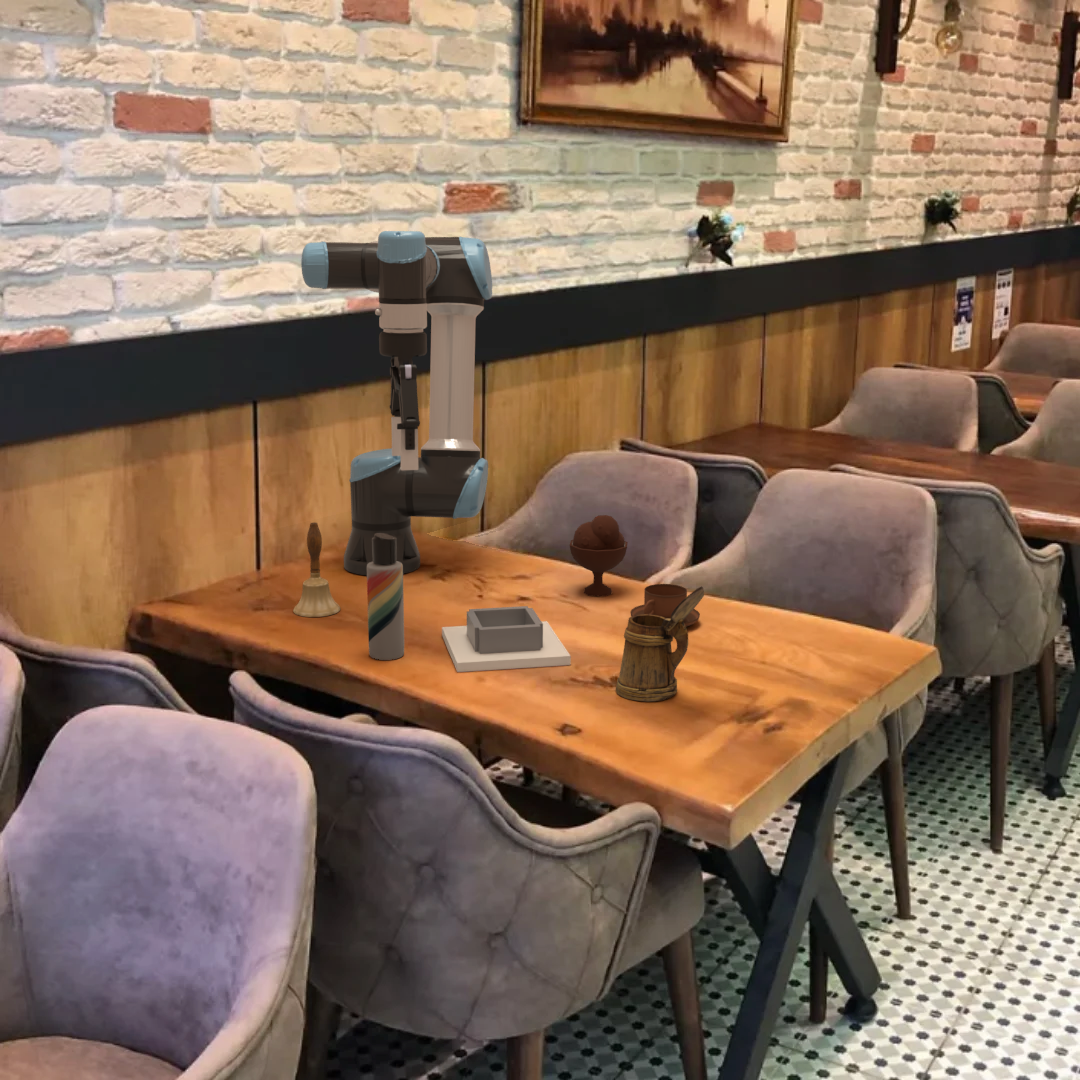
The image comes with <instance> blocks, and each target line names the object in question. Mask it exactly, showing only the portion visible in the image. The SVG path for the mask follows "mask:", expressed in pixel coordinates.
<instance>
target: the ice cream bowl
mask: <svg viewBox="0 0 1080 1080" xmlns="http://www.w3.org/2000/svg"><path fill="white" fill-rule="evenodd" d="M628 542H629V541H626V540H625V538H624V535H623V533H622V532H620V526H619V524H618V521H617V520H616V519H615V518H614V517H613V516H611V515H607V514H603V515H597V516H595V517H594V518H593V519H592V520H591V521H587V522H584V523H582V524H580V525H579V526H578V527H577V529H576V530H575V531H574V535H573V539H572V540H570V542H569V549H570V550H569V551H570V554H571V556H572V558H573V560H574V561H575V562H576V563H577V564H578V565H579V566H581V567H582V568H584V569H586V570H588V571H590V572H592V576H593V579H592V580H593V581H592V582H593V583H591V584H589V585H587V586H585V587H584V589H583V592H582V593H583V594H584V595H587V596H591V597H607V596H610V595H612V594H613V590H612V588H611V587H609V586H607V585H606V584H604V583H603V582H604V581H603V579H604V578H603V576H604V574H605V572H608V571H610V570H613V569H614V568H616V567H617V566H618V565H619V564H620V563H622V561H623V560H624V559H625V558H624V557H625V556H626V553H627V549H628Z"/></svg>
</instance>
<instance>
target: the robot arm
mask: <svg viewBox="0 0 1080 1080" xmlns="http://www.w3.org/2000/svg"><path fill="white" fill-rule="evenodd" d="M300 261H301V263H300V265H301V275H302V276H301V277H302V279H303V281H304V283H305V285H306V286H307V287H309V288H311V289H322V290H332V289H333V290H335V289H336V290H339V289H340V290H341V289H343V290H351V289H354V290H357V289H361V290H369V291H370V292H373V293H378V304H379V305H378V307H379V308H376V309H375V310H374V314H375V315H376V316H379V319H378V320H379V323H378V325H379V328H380V329H382V330H383V331H381V332H380V333H379V334H378V335H379V336H378V337H379V338H378V341H379V342H378V343H379V349H378V350H379V354H380V355H381V356H383V357H390V358H391V359H390V363H391V366H390V367H389V374H390V398H389V399H390V400H389V401H390V403H389V409H390V414H391V418H390V419H391V423H390V425H391V448H383V449H377V450H371V451H368V452H364V453H361V454H359V455H357V456H355V457H353V459H352V460H351V462H350V473H349V474H350V476H349V477H350V478H349V484H350V507H351V508H350V510H351V511H350V512H351V513H350V514H351V532H350V535H349V537H348V541H347V545H346V547H345V548H346V549H345V551H344V555H343V568H344V570H345V571H347V572H350V573H353V574H356V575H361V576H367V564H368V563H370V562H373V555H372V538H373V537H374V534H376V533H388V534H392V535H394V536H395V537H396V558H397V560H396V561H398V562H401V563H402V565H403V575H404V574H408V573H411V572H414V571H416V570H418V569H419V568H420V567H421V553H420V551H419V548H418V545H417V542H416V539H415V537H414V534H413V531H412V523H411V522H412V521H411V520H412V519H411V517H418V518H419V517H420V518H446V519H450V518H451V519H454V520H455V519H460V518H463V519H467V518H475V517H476V516H477V515H478V514H479V513H480V512H481V509H482V508H483V503H484V500H485V495H486V489H487V485H488V484H487V483H488V478H489V477H488V476H489V471H488V469H489V462H488V461H489V460H488V459H485V458H484V457H481V449H480V448H479V446H478V445H477V444H476V443H475V442H474V405H475V404H474V403H475V401H474V400H475V394H474V393H475V366H476V365H475V364H476V363H475V362H476V361H475V355H476V321H477V320H476V319H477V316H479V315H480V314H481V312H482V311H484V309H485V307H484V304H485V301H488V300H490V299H492V297H493V277H492V268H491V261H490V257H489V252H488V249H487V246H486V243H485V242H484V241H483V240H481V239H480V238H476V237H464V236H443V237H442V236H425V234H424V233H423V232H422V231H418V230H414V231H413V230H410V231H409V230H408V231H407V230H406V231H405V230H384V231H383V230H382V231H381V232H380V233H379V234H378V238H377V240H374V241H370V242H344V241H343V242H339V241H338V242H335V241H328V242H327V241H320V242H318V241H317V242H308V243H306V245H304V247H303V249H302V253H301V260H300ZM428 314H429V315H430V316H431V323H430V324H431V327H430V328H431V329H430V332H431V333H430V366H429V367H430V369H429V371H430V373H429V374H430V375H429V378H430V379H429V416H428V417H429V423H428V424H429V425H428V426H429V427H428V440H427V441H426V442H425V443H424V444H423V445H422V446H421V448H420V457H419V429H418V428H419V427H420V424H421V421H420V415H419V399H418V381H417V378H418V368H417V365H416V364H413V362H414V361H413V357H422V356H425V355H426V354H427V352H428V347H427V346H428V343H427V342H428V338H427V335H428V334H427V333H426V332H425V331H424V329H427V327H428Z"/></svg>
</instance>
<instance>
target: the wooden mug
mask: <svg viewBox="0 0 1080 1080" xmlns="http://www.w3.org/2000/svg"><path fill="white" fill-rule="evenodd" d="M704 597H705V590H704V587H703V586H699V587H698V588H696V589H695V590H693V591H692V592H691V593H689V594H687V597H686V598H685V599H684V600H683V601H682V602H681V603H680V604H679V605H678V606H677V607H676V608H675V609H674V611H673V612H672V614H671V619H669V618H665V617H662V616H658V615H651V614H642V615H634V616H632V617H631V616H630V617H628V619H627V620H628V622H627V626H626V627H625V628H624V629H625V630H624V635H623V638H624V645H623V653H622V659H621V663H620V670H619V677H618V678H617V680H616V686H615V690H614V691H615V693H616V694H617V695H619V697H622V698H624V699H627V700H632V701H636V702H650V703H651V702H661V701H665V700H669V699H670V698H672V697H674V696H675V695H676V694H677V692H678V679H677V678H676V676H675V673H676V669H677V668H678V666H679V664H680V663H681V662H682V660H683V659H684V657H685V655H686V654H687V652H688V646H689V633H688V629H687V627H686V626H685V624H684V621H683V620H684V619H685V618H686V616H687V615H688V614H689V613H690V612H691V611H692V610H693V609H696V607H697V605H699V603H700V602H701V601H702V599H703V598H704ZM674 639H675V641H676V649H675V650H674V651H672V642H673V641H674Z"/></svg>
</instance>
